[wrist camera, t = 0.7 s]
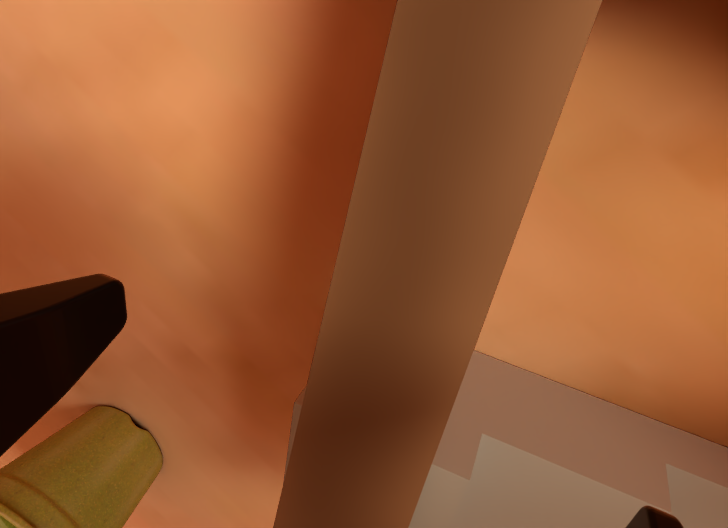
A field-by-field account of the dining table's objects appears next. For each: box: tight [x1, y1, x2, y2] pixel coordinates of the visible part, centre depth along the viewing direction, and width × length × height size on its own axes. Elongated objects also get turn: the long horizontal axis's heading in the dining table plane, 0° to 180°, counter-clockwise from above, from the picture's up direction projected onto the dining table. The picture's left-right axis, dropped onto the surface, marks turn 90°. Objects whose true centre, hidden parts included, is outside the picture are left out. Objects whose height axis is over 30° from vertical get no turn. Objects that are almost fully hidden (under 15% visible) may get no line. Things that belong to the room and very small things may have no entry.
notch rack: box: [283, 351, 728, 528], centre depth 19 cm, size 18×6×6 cm, turn 81°
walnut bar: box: [273, 0, 602, 528], centre depth 13 cm, size 4×28×3 cm, turn 171°
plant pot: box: [0, 406, 163, 528], centre depth 31 cm, size 9×9×9 cm
